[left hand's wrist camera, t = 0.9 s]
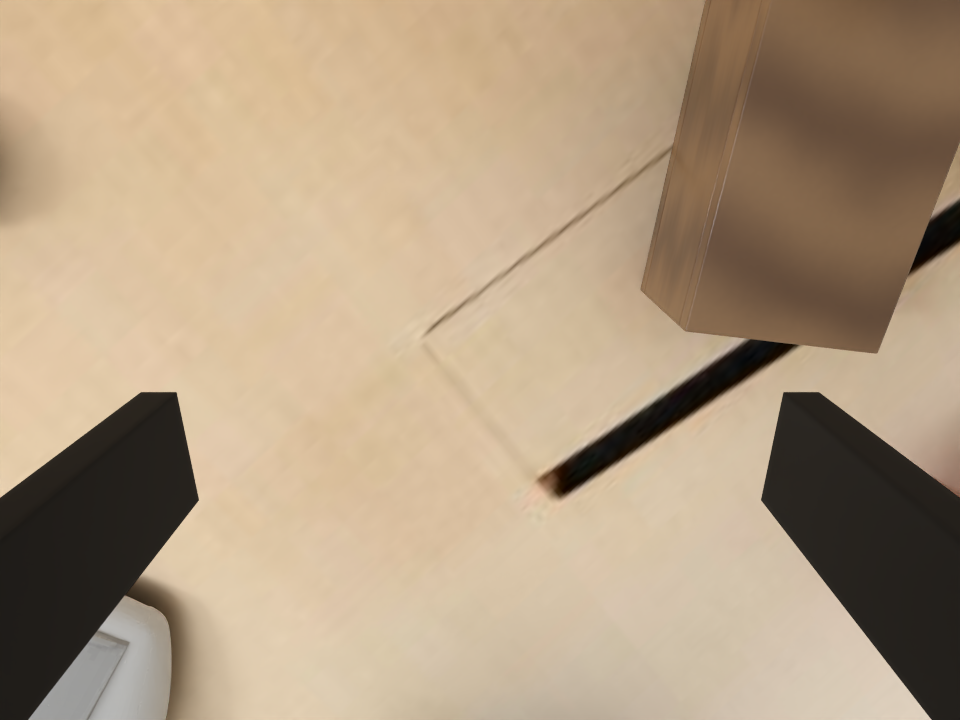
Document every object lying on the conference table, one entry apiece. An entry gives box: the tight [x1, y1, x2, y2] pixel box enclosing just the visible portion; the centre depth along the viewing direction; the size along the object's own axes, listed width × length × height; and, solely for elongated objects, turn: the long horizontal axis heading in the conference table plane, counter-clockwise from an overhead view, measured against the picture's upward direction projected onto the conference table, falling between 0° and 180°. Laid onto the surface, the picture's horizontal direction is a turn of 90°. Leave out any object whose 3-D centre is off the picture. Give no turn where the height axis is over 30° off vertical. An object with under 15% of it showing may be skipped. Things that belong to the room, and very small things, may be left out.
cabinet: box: [641, 0, 960, 353], centre depth 29 cm, size 21×10×8 cm, turn 173°
